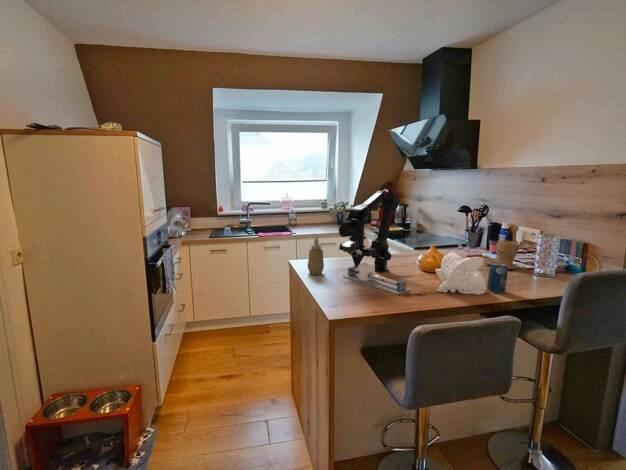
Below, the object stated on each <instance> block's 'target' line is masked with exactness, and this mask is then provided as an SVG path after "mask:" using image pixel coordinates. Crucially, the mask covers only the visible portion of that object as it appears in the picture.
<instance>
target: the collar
mask: <svg viewBox="0 0 626 470" xmlns="http://www.w3.org/2000/svg"><path fill="white" fill-rule="evenodd" d="M358 268H359V269H358V270H359V279H361V280H364V281H368V280H371V279H373V278H369V277H368V273H371V274H375V273H376V271H375V264H374V262H370V261H367V262H364V263H360V264H359V266H358ZM375 275H376V274H375Z"/></svg>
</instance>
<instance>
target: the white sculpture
mask: <svg viewBox="0 0 626 470" xmlns="http://www.w3.org/2000/svg"><path fill="white" fill-rule="evenodd" d="M483 261H484V259H483V258H482V257H480V256H472V257H466V258H463V257H462V256H461V255H460V254H458V253H456V252H454V251H450V252H448V253H447V254H446V255H444V256H443V257H442V260H441V262H440V268H435V272H436V273H435V274H436V275H437V276H438V278H439V280H441V281H443V282H442V284H440V285H439V287H438V288H437V289H436V291H437V292H439V293H440V292H441V293H442V292H443V293H447V292H449V291H450V293H456V291H457V292H458V293H460V294H466V295H470V294H471V295H484V294H485V292H486V291H487V283H486V282H487V279H485V278H484V276H483V273H481V271H479V269H480V268H481V266H482V265H483V264H484V262H483Z"/></svg>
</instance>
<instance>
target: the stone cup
mask: <svg viewBox="0 0 626 470" xmlns="http://www.w3.org/2000/svg"><path fill="white" fill-rule="evenodd" d="M519 249H520V244H519V243H518V242H515V241H511V240H506V239H502V238H501V239H499V240H498V241H497V244H496V257H495V258H491V257H487V258H485V259H483V260H484V261H483V264H486V265H489V266H491V264H492V263H493V262H498V263H504V264H506V265H507V268H508V270H514V269H516V268H517V266H516V265H515V264H514V263H513V262H514V260H515V258H516V256H517V254H518V252H519Z"/></svg>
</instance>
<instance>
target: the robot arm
mask: <svg viewBox="0 0 626 470" xmlns="http://www.w3.org/2000/svg"><path fill="white" fill-rule="evenodd" d="M400 201H401V199H400V196H399V194H396V193H392V192H388V191H387V190H377V191H375V193H373V195H372V196H370V197H369V198H368V199H367V200H365V201H364V202H363V203H361V204H357V205H355V206H354V207H351V209H350V212H349V213H348V215H347V217H346V219H345V221H342V224H341V225H339V227H338V234H339V236H340V237H341V238H348V237H349V238H348V240H347V241H345V242H344V243H340V245H339V246H338V247H339V248H338V249H339V251H343V253H347V254H349V255H350V256H351V258H352V262H353V266H355V267H357V268H359V267H360V264H361V262H362V261H363V259H364V257H368V258H369V257H371V259H374V261H373V263H374V264H375V272H379V273H384V272H388V271H390V269H389V268H388V261H390V260H391V259H392V254H391V252H390V251H389V247H390V246H389V243H388V237H389V231H390V227H391V223H392V218H393V214H394V212H395V211H396V210H397V209H398V207H399V204H400ZM379 204H381V207H382V214H381V219H380V224H379V228H378V231H377V232H378V233H377V237H376V238H375V239H374V240H372V241H371V245H370V247H366V245H364V243H365V240H366V239H367V238H366V236H365V225H368V224H369V223H368V222H367V221H366V220H367V218H368V217H369V216H370V214H371V213H370V212H371V211H372V210H373V209H375V208H376V207H377V206H378V205H379Z"/></svg>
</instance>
